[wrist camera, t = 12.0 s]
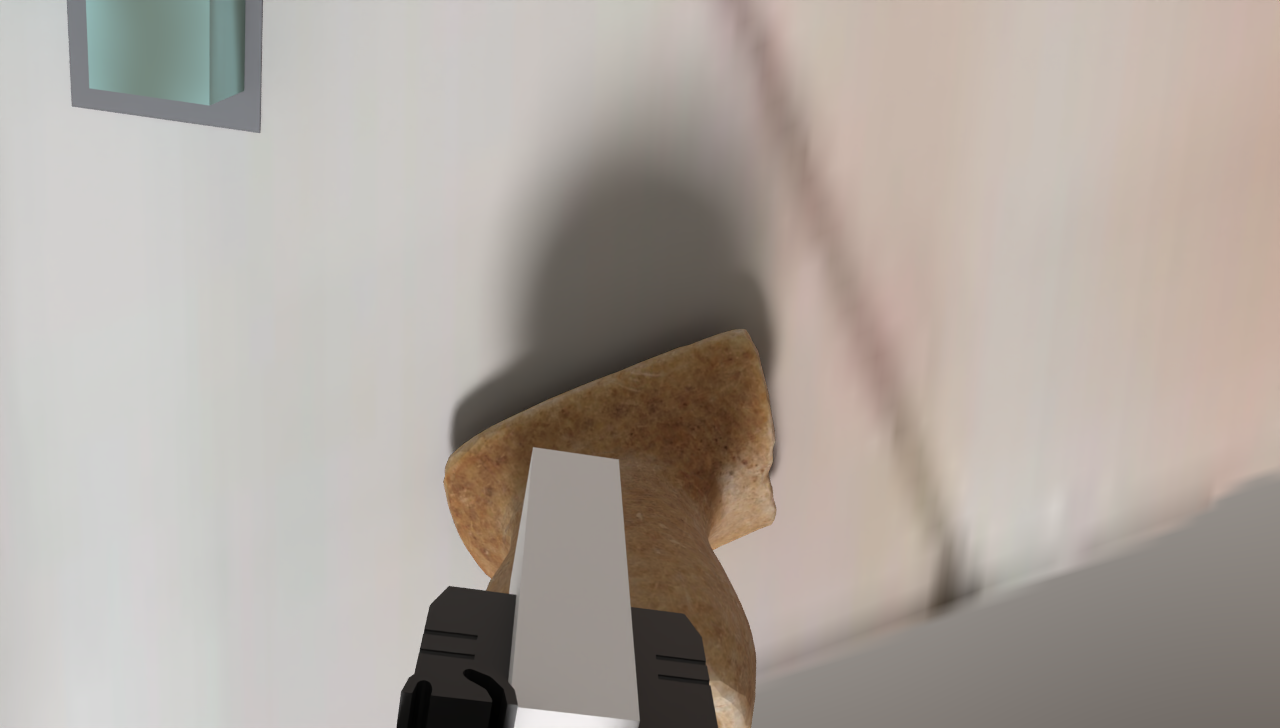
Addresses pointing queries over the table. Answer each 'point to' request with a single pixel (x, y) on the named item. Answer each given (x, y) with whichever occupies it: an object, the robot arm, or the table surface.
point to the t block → (167, 48)
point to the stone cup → (649, 487)
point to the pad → (226, 113)
